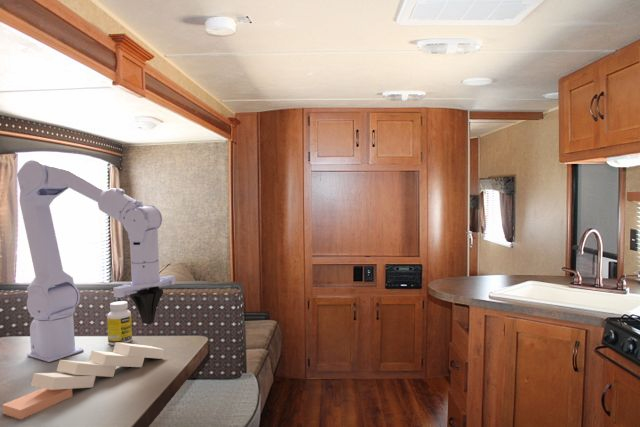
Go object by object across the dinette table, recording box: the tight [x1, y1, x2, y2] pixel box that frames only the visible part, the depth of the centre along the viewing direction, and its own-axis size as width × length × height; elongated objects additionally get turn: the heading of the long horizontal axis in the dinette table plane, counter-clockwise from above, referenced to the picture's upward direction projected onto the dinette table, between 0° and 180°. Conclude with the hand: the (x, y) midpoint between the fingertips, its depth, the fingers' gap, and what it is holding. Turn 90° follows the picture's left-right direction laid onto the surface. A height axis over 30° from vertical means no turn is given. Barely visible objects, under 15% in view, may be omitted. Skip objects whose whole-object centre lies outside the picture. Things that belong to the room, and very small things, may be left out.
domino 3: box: [88, 350, 145, 368], centre depth 92 cm, size 2×5×9 cm
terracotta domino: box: [2, 388, 73, 420], centre depth 78 cm, size 2×5×9 cm
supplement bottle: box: [106, 300, 133, 346], centre depth 110 cm, size 5×5×10 cm
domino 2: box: [56, 359, 117, 378], centre depth 86 cm, size 2×5×9 cm
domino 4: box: [112, 342, 165, 360], centre depth 96 cm, size 2×5×9 cm
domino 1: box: [30, 372, 97, 390], centre depth 81 cm, size 2×5×9 cm
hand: (148, 323), depth 98 cm, fingers closed
